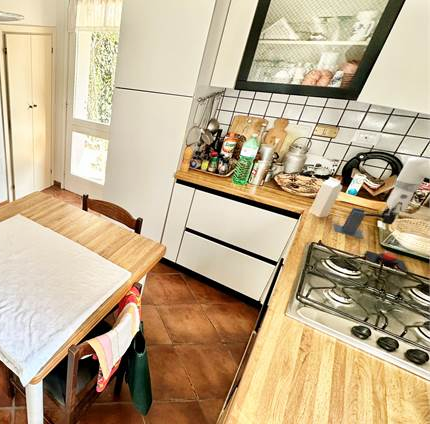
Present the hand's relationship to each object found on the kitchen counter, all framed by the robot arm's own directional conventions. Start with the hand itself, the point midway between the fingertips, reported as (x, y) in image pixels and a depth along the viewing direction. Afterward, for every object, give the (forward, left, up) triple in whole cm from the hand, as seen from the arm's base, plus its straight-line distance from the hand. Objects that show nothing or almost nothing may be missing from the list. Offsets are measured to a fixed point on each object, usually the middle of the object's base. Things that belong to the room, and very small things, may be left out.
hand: (385, 220), depth 143 cm
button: (-1, +24, -7) cm, 25 cm away
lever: (+5, 0, 0) cm, 5 cm away
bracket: (+10, 0, -11) cm, 15 cm away
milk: (+22, -13, -11) cm, 28 cm away
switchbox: (-1, +24, -11) cm, 26 cm away
